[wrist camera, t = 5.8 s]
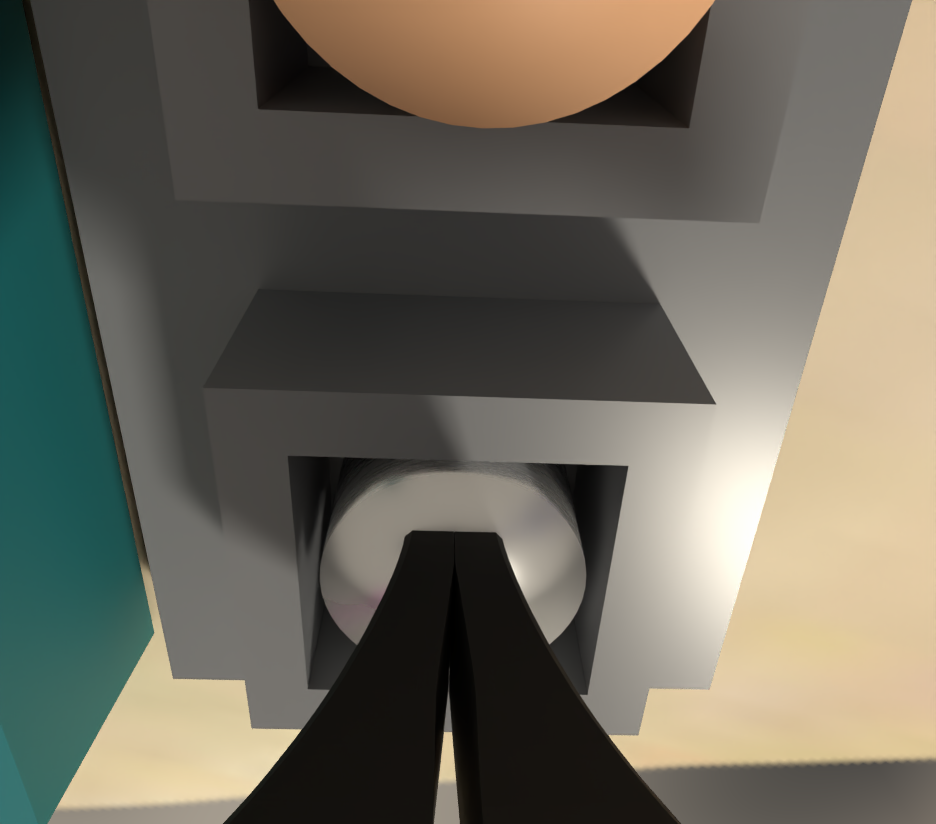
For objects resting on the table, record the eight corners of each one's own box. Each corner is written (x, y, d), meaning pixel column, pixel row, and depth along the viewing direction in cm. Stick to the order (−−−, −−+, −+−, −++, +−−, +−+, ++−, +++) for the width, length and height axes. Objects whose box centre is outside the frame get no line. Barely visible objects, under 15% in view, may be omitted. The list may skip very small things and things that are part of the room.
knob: (575, 376, 14) (603, 479, 11) (551, 555, 16) (570, 678, 13) (339, 369, 13) (312, 470, 11) (347, 550, 16) (325, 672, 13)
